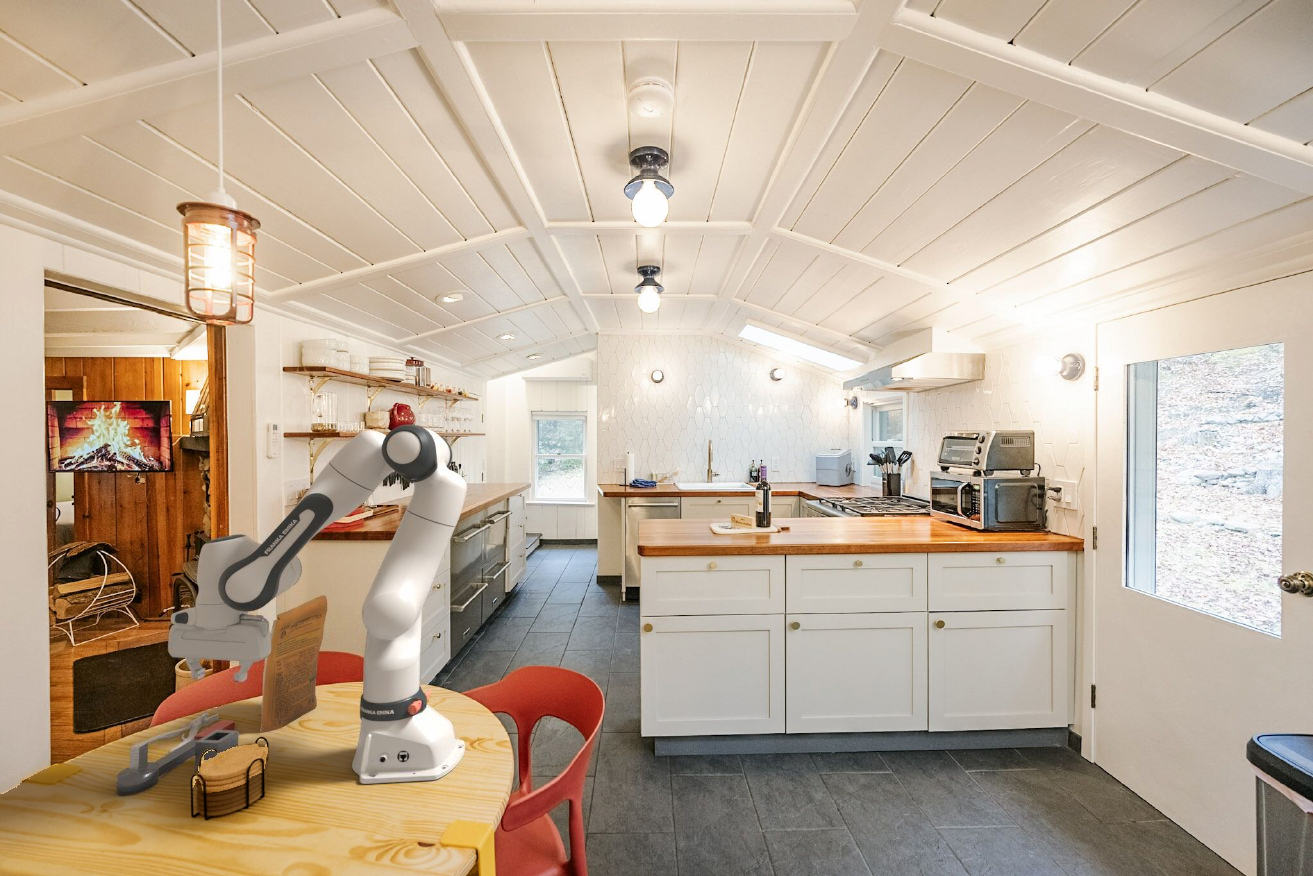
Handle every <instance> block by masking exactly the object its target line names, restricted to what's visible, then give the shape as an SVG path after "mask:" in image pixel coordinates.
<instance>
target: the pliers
mask: <svg viewBox="0 0 1313 876" xmlns="http://www.w3.org/2000/svg"><path fill="white" fill-rule="evenodd" d="M219 715H220V714H219V713H215V714H213V715H211V716H209V712H204V713H202V715H199V716H198V717H195V718H194V719H193V720H192V721H190V722H189V725H187V726H185V727H182V728H180V729H175V730H169V731H167V732H164V733H161V734H159V735H156V736H153V737H151V738H148V739H146V740H144V741H143V742H148V744H150V743H153V742H155V741H159V740H166V739H171V738H175V737H177V736H179V735H180V734H182V733H183V732H187V731H188V730H189V733H188V736H187V737H186V738H185V735H186V734H185V733H183V734H182V735H181V740H182V742H181V743H179V744H178V745H176V746H175V747H173V748H172V749H169V751H168V754H169V753H171V752H172V751H174V750H176V749H178V748H179V747H181V746H183V745H184V744H186V743H188V742H190V741H191V740H193V739H194V736H195V735H197V734H198V732H199V730H200V729H201V728H204V727H206V726H208V725H210V724H212V723H214V722H216V721H217V720H219V718H220V716H219Z"/></svg>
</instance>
